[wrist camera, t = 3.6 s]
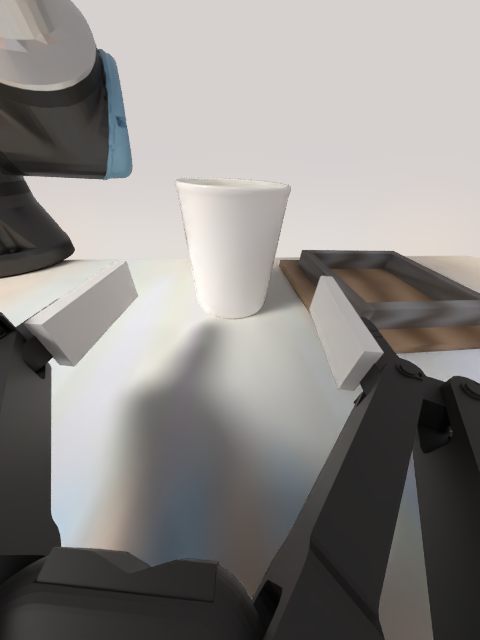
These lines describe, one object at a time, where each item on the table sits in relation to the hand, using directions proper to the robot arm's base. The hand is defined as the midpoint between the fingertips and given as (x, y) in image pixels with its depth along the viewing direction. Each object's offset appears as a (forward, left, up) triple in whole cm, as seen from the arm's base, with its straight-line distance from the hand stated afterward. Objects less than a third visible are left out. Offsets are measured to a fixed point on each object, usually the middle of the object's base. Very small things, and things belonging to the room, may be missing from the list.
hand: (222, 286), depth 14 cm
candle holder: (+1, +8, -7) cm, 11 cm away
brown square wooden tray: (+20, +8, -7) cm, 23 cm away
